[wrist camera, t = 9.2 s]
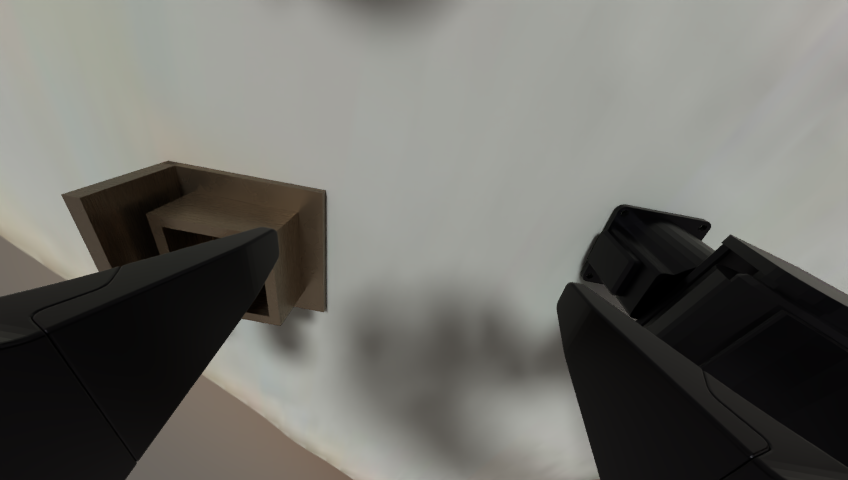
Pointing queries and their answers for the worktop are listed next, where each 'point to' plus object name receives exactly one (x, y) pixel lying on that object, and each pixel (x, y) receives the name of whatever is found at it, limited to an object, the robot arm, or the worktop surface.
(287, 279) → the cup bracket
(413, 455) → the worktop surface
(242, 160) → the worktop surface
